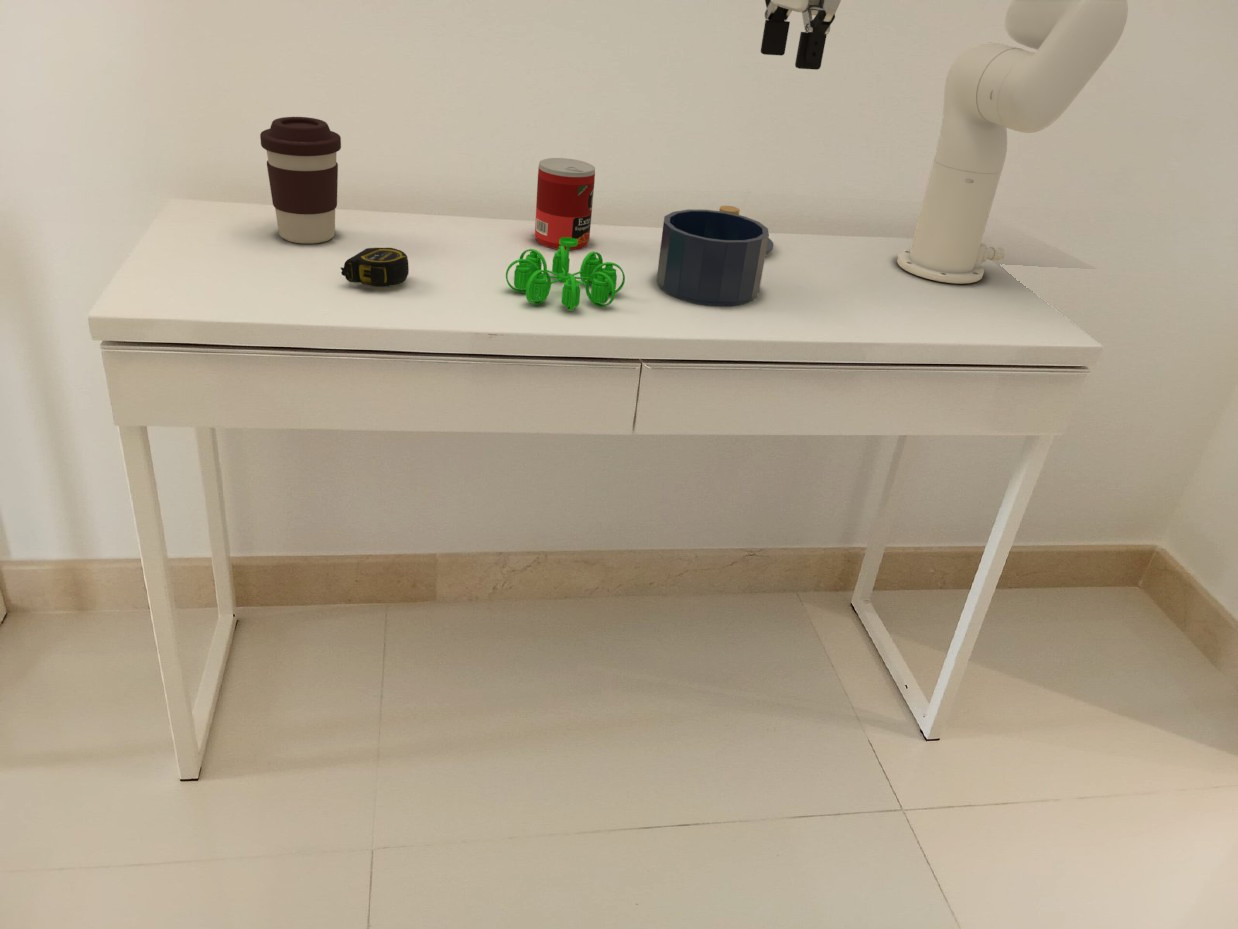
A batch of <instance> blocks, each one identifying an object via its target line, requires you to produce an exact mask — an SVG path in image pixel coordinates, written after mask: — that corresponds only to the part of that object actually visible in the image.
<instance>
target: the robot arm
mask: <svg viewBox="0 0 1238 929" xmlns="http://www.w3.org/2000/svg"><path fill="white" fill-rule="evenodd" d="M841 1H842V0H764V2H765V7H766V9H765V11H764V19H765V21H764V28H763V32H762V39H761V45H760V53H761V54H762V55H765V56H781V57H782V56H784V55H785V53H786V47H787V42H788V37H789V36H788V35H789V30H790V24H791V23H790V21H787V20H788V19H789V17H790V16H791V14H792V12H796V13H801V16H802V22H803V28H804V31H800V34H799V40H798V46H797V50H796V51H797V52H796V57H795V62H794V66H795V68H797V69H800V70H817V71H818V70H820V69H821V67H822V62H823V57H824V51H825V45H826V40H827V35H829V34H830V31H831V25H832V24H833V22H834V20H835V19H836V13H837V11H838V8H839V6H840V4H841ZM1128 14H1129V4H1128V0H1011V2H1010V4H1009V6H1008V8H1007V10H1006V13H1005V18H1004V28H1005V30H1006V33H1007V35H1008V36H1009V37H1010V39H1012V40H1013V41H1015V43H1017V44H1018V45H1019V44H1020V45H1022V46H1024V47H1026V48H1029V49H1034V50H1036V51H1035V52H1033V51H1029V50H1026V49H1023V48H1019V47H1015V46H1011V45H1008V44H1004V43H1000V42H999V43H998V42H992V41H991V42H990V41H989V42H978V43H975V44H972V45H970V46H968V47H966V48H965V49H963V50H962V51H961V52H960V53H958V55H957V56H956V57H955V58H954V60H953V61H952V63H951V65H950V67H949V69H948V72H947V74H946V79H945V84H944V85H945V86H944V93H943V108H942V109H943V110H942V120H941V126H940V130H939V136H938V140H937V144H936V147H935V153H934V156H933V160H932V164H931V168H930V171H929V176H928V179H927V183H926V187H925V191H924V195H923V199H922V204H921V207H920V211H919V215H918V220H917V223H916V227H915V231H914V235H913V238H912V242H911V245H910V249H904V250H902V251H901V252H899V253H898V255H897V260H896V263H897V265H898V266H899V267H900V268H901V269H902V270H904V271H906V272H908V273H910V274H912V275H914V276H917V277H920V278H923V279H927V280H931V281H935V282H941V283H948V284H960V285H961V284H963V285H964V284H973V283H976V282H979V281H981V280H982V278H983V276H984V273H985V269H984V268H983V266H982V263H985V262H986V261H988V260H989V261H1001V260H1003V259H1004V258H1005V254H1006V251H1005V248H1004V247H1002V246H992V247H991V246H990V247H987V244H986V243H982V241H983V238H984V234H985V230H986V227H987V224H988V220H989V217H990V213H991V210H992V207H993V202H994V199H995V196H996V192H997V190H998V189H997V188H998V186H999V183H1000V182H999V181H1000V178H1001V176H1002V172H1003V169H1004V166H1005V162H1006V157H1007V152H1008V130H1007V129H1009V130H1013V131H1015V132H1020V133H1025V134H1032V133H1038V132H1040V131H1043V130H1045V129H1047V128H1048V127H1050V126H1051V125H1052V124H1053V123H1054V122H1056V121H1057V120H1058V119H1059V118H1060V117H1061V116H1062V115H1063V114H1064V113H1065V111H1066V110H1067V109H1068V108H1069V107H1070V105H1071V104H1072V103H1073V102H1074V101H1075V99H1076V98H1077V97H1078V95H1079V94H1080V93H1081V91H1083V89H1084V88H1085V87H1086V85H1087V84H1088V83H1089V81H1090V80H1091V79H1092V78H1093V76H1094V75H1095V74H1096V73H1097V72H1098V70H1099V69H1100V68H1101V66H1102V65H1103V64H1104V62H1105V61H1106V60H1107V59H1108V57H1109V56H1110V54H1112V52H1113V51H1114V49H1115V48H1116V46H1117V44H1118V43H1119V41H1120V39H1121V37H1122V35H1123V33H1124V31H1125V27H1126V24H1127V19H1128ZM813 16H814V17H813Z"/></svg>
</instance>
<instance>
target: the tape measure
mask: <svg viewBox="0 0 1238 929" xmlns="http://www.w3.org/2000/svg"><path fill="white" fill-rule="evenodd" d="M409 268H410V267H409V259H408V255H407V254H406V253H405V252H404V251H403V250H401V249H397V248H394V247H368V248H364V249H363V250H362V251H360V252H358V253H356V254H355V255H353V256H351V257H349V258H348V259H347V260H345V261H344V264H343V267H342V266H341V267H340V270H341V272H340V273H341V276H344V277H345V279H346V281H348V282H349V283H355V284H356V283H361V284H363V285H366V286H369V287H376V288H377V287H378V288H380V287H381V288H383V287H392V286H397V285H400V284H402V283H404V282H405V281H406V280H407V278H408V276H409V274H410V272H409V271H410V269H409Z"/></svg>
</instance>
